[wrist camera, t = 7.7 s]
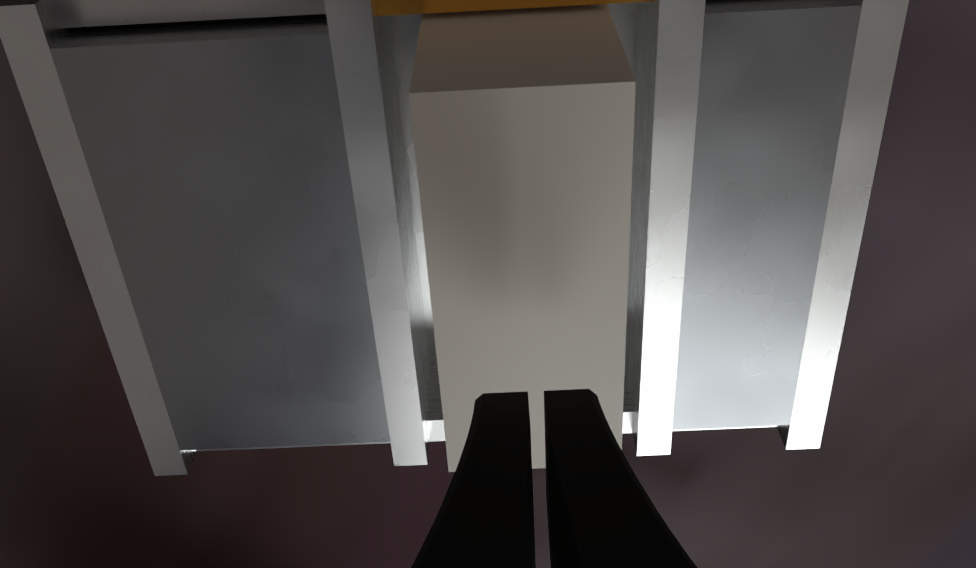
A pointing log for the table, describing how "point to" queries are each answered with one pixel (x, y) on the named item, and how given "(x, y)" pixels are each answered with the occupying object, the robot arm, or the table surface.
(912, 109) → the table surface
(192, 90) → the rack
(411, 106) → the beige rectangular block
